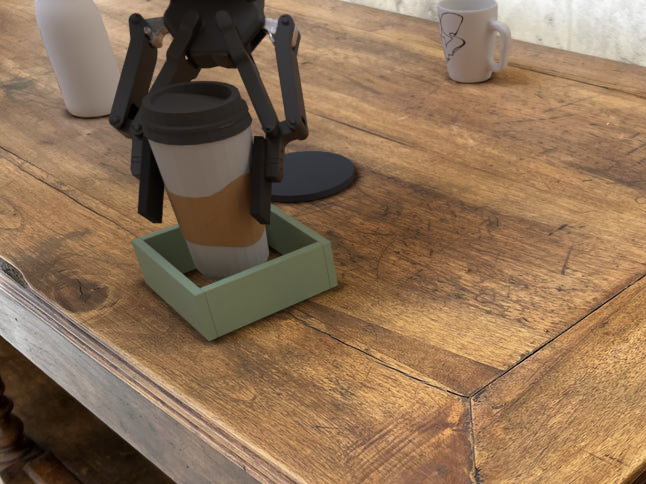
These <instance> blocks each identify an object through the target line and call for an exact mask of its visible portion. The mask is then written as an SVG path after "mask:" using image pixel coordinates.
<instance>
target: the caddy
mask: <svg viewBox="0 0 646 484" xmlns="http://www.w3.org/2000/svg"><path fill="white" fill-rule="evenodd" d="M265 229H266V236H267V243H268V247H270V248H272V249H274V251H277V252H278V253H280V254H281V255H280V256H277V257H276V258H273V259H270V260H267V262H265V263H263V264H260V265H258V266H255V267H252V268H250V269H247V270H245V271H242V272H240V273H237V274H235V275H232V276H230V277H227V278H225V279H222V280H220V281H215V282H212V283H210V284H207V285H204V286H202V287H199V286H198V285H196V283H194V282H193V280H191V279H190V278H188V277H187V276H186V275H185V274H186V273H189V272H191V271H194V270H196V269H197V268H196V267H195V264H194V262H193V259H192V256H191V254H190V251H189V248H188V245H187V243H186V240H185V238H184V237H183V235H182V232H181V230H180V227H179V224H178V223H176V224H173V225H170V226H167V227H164V228H162V229H159V230H155V231H153V232H150V233H147V234H144V235H141V236H138V237H135V238H132V239H130V243H131V245H132V248H133V251H134V253H135V257H136V259H137V263H138V265H139V268H140V271H141V274H142V276H143V280H144V283H145V284H146V285H147V286H148V287H149V288H150V289H151V290H152V291H153V292H155V293H156V294H157V295H158V296H159V297H160V298H161V299H162V300H164V302H165V303H166V304H167V305H169V306H170V307H171V308H172V309H173V310H174V311H175V312H176V313H177V314H179V315H180V317H182V319H184V320H185V321H186V322H187V323H188V324H190V326H192V327H193V329H195V330H196V331H197V332H198V333H199V334H200V335H201V336H203V338H204V339H206V340H207V341H208V342H211V341H213V340H216V339H217V338H221V337H223V336H225V335H227V334H229V333H232V332H234V331H237V330H238V329H241V328H243V327H246V326H248V325H250V324H253V323H255V322H257V321H260V320H261V319H264V318H266V317H269V316H271V315H273V314H276V313H277V312H281V311H282V310H285V309H287V308H289V307H291V306H294V305H296V304H298V303H301V302H303V301H305V300H308V299H310V298H312V297H315V296H317V295H319V294H321V293H322V294H323V292H326V291H329V290H330V289H333V288H335V287H337V286H338V285H339V283H338V277H337V273H336V272H337V271H336V265H335V261H334V255H333V250H332V249H333V247H332V242H331V240H329V239H327V238H326V237H324V236H322V235H321V234H319V233H318V232H316V231H314V230H313V229H311V228H310V227H309V226H307V225H305V224H304V223H302V222H301V221H300V220H297V219H296V218H294V217H293V216H291V215H290V214H289V213H287V212H285V211H283V210H282V209H280V208H278V207H277V206H276V205H274V204H272V203H271V213H270V225H265ZM197 270H198V269H197Z"/></svg>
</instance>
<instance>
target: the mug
mask: <svg viewBox="0 0 646 484" xmlns="http://www.w3.org/2000/svg"><path fill="white" fill-rule="evenodd" d="M436 8H437V18H438V26H439V34H440V40H441V47H442V51H443V55H444V59H445V64H446V69H447V73H448V76H449V78H450V79H451V80H452V81H455V82H458V83H463V84H474V83H481V82H485V81H487V80H488V79H490V78H491V77H492V74H493V73H498V74H499V73H501V72H503V71H505V70H506V69H507V67H508V63H509V57H510V50H511V45H512V32H511V30H510V28H509V26H508V25H507V24H506V23H504V22H502V21H499V20H498V14H499V13H498V12H499V11H498V10H499V5H498V2H497V0H440V1H438V2H437V7H436ZM498 34H499V37H500V46H499V54H498V55H499V56H498V63H497V62H496V61H495V53H496V47H497V36H498Z"/></svg>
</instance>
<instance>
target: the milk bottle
mask: <svg viewBox="0 0 646 484" xmlns="http://www.w3.org/2000/svg"><path fill="white" fill-rule="evenodd" d="M34 14H35V20H36V25H37V27H38V31H39V35H40V37H41V40H42V43H43V46H44V49H45V51H46V54H47V56H48V60H49V63H50V66H51V67H52V71H53V75H54V78H55V79H56V83H57V85H58V88H59V90H60V93H61V96H62V100H63V101H64V102H63V103H64V104H65V106H66V109H67V111H68V112H69V113H70V114H71V115H72V116H76V117H79V118H80V117H81V118H95V117H102V116H107V115H110V112H111V109H112V105H113V101H114V98H115V94H116V90H117V87H118V83H119V79H120V76H121V72H120V69H119V66H118V63H117V60H116V56H115V53H114V51H113V46H112V43H111V41H110V38H109V35H108V32H107V31H108V30H107V29H106V25H105V22H104V20H103V17H102V14H101V12H100V10H99V8H98V5H96V2H95V1H94V0H34Z"/></svg>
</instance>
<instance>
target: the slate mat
mask: <svg viewBox="0 0 646 484" xmlns="http://www.w3.org/2000/svg"><path fill="white" fill-rule="evenodd" d="M355 176H356V171H355V165H354V164H353V162H352V161H351V160H350V159H349V158H347V157H346V156H344V155H341V154H338V153H335V152H330V151H323V150H302V151H301V150H300V151H292V152H285V158H284V177H283V179H282V182H281V183H272V193H271V202H277V203H299V202H300V203H301V202H309V201H314V200H315V201H316V200H319V199H323V198H327V197H330V196H332V195H335V194H337V193H339V192H342V191H344V190H345V189H346V188H348V186H350V185H351V184H352V183H353V182H354V179H355Z"/></svg>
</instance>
